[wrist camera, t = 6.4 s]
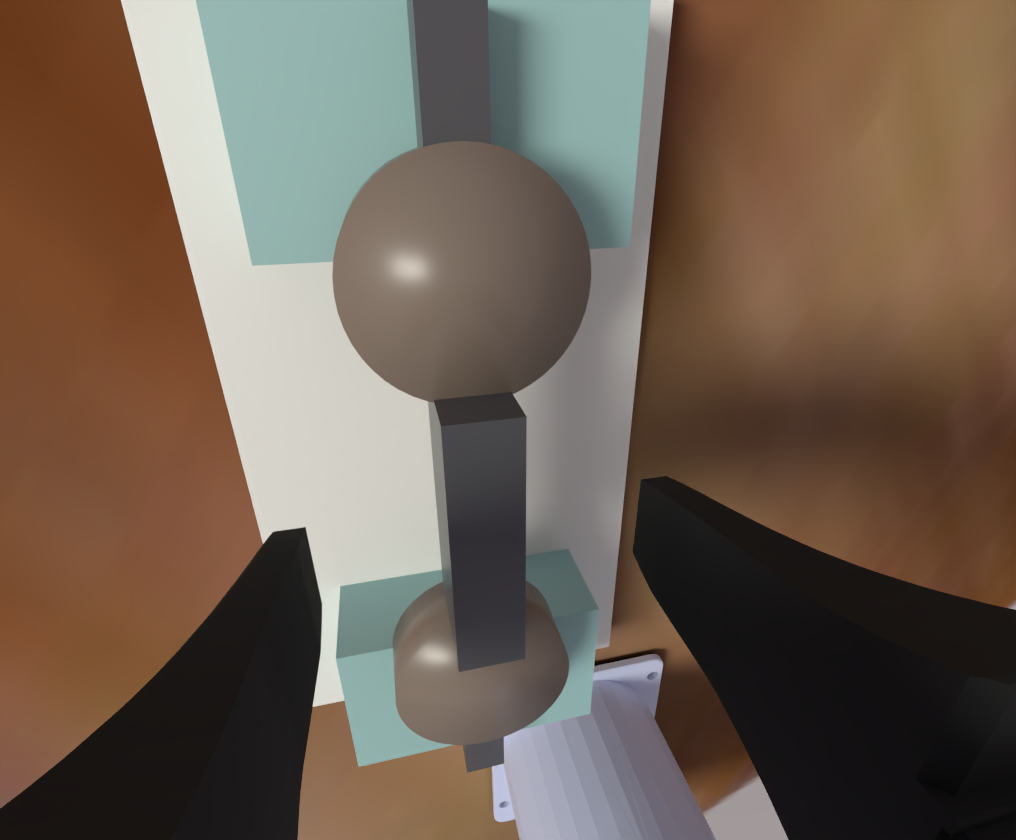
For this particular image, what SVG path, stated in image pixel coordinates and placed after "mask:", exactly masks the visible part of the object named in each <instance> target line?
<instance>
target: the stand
mask: <svg viewBox="0 0 1016 840" xmlns="http://www.w3.org/2000/svg"><path fill="white" fill-rule="evenodd" d="M121 2H122V6H123V10H124V14H125V18H126V21H127V25H128V29H129V33H130V37H131V41H132V44H133V48H134V52H135V56H136V60H137V64H138V67H139V71H140V75H141V79H142V83H143V86H144V90H145V94H146V98H147V102H148V106H149V109H150V113H151V117H152V121H153V125H154V128H155V132H156V136H157V140H158V144H159V148H160V151H161V155H162V159H163V163H164V167H165V171H166V174H167V178H168V182H169V186H170V190H171V193H172V197H173V201H174V205H175V209H176V213H177V216H178V220H179V224H180V228H181V232H182V236H183V239H184V243H185V247H186V251H187V255H188V258H189V262H190V266H191V270H192V274H193V278H194V281H195V285H196V289H197V293H198V297H199V300H200V304H201V308H202V312H203V316H204V320H205V323H206V327H207V331H208V335H209V339H210V343H211V346H212V350H213V354H214V358H215V362H216V365H217V369H218V373H219V377H220V381H221V385H222V388H223V392H224V396H225V400H226V404H227V408H228V411H229V415H230V419H231V423H232V427H233V430H234V434H235V438H236V442H237V446H238V450H239V453H240V457H241V461H242V465H243V469H244V472H245V476H246V480H247V484H248V488H249V492H250V495H251V499H252V503H253V507H254V511H255V515H256V518H257V522H258V526H259V530H260V534H261V537H262V541H263V544H264V542H265V541H266V540H267V538H268V537H269V536H270V535H271V534H272V532H275V531H282V530H289V529H296V528H303V527H306V532H307V536H308V541H309V546H310V550H311V555H312V560H313V564H314V569H315V574H316V578H317V583H318V588H319V592H320V597H321V601H322V632H321V654H320V661H319V668H318V674H317V681H316V687H315V694H314V700H313V707H315V706H320V705H325V704H330V703H334V702H339V701H344V700H345V704H346V709H347V714H348V719H349V723H350V728H351V733H352V737H353V742H354V747H355V751H356V756H357V761H358V766H359V767H360V766H365V765H369V764H373V763H378V762H382V761H386V760H391V759H395V758H400V757H404V756H408V755H413V754H417V753H421V752H426V751H430V750H434V749H439V748H443V747H448V746H452V745H450V744H442V743H437V742H434V741H431V740H427V739H425V738H423V737H421V736H419V735H417V734H416V733H414V732H413V731H411V730H410V729H409V728H408V727H407V726H406V725H405V723H404V722H403V721H402V719H401V718H400V716H399V714H398V711H397V707H396V698H395V679H394V660H393V635H394V631H395V628H396V625H397V623H398V621H399V619H400V617H401V616H402V614H403V613H404V611H405V610H406V609H407V608H408V606H409V605H410V604H411V603H412V602H413V601H414V600H415V599H416V598H417V597H419V596H420V595H421V594H422V593H424V592H425V591H427V590H428V589H430V588H431V587H433V586H435V585H437V584H438V583H441V582H443V579H442V567H441V555H440V542H439V530H438V518H437V506H436V494H435V482H434V470H433V457H432V445H431V433H430V421H429V409H428V401H425V400H422V399H419V398H416V397H413V396H411V395H409V394H407V393H405V392H403V391H400V390H398V389H397V388H395V387H394V386H392V385H391V384H389V383H388V382H386V381H385V380H383V379H382V378H381V377H380V376H379V375H378V374H376V373H375V372H374V371H373V370H372V369H371V368H370V367H369V366H368V365H367V364H366V363H365V362H364V360H363V359H362V358H361V357H360V355H359V354H358V353H357V351H356V350H355V348H354V347H353V345H352V344H351V342H350V340H349V338H348V336H347V334H346V332H345V331H344V329H343V326H342V323H341V320H340V318H339V315H338V312H337V307H336V303H335V298H334V291H333V279H332V274H333V258H334V252H335V247H336V242H337V238H338V235H339V232H340V229H341V226H342V224H343V221H344V218H345V215H346V212H347V210H348V208H349V206H350V204H351V202H352V200H353V198H354V197H355V195H356V194H357V192H358V191H359V189H360V188H361V187H362V185H363V184H364V183H365V182H366V181H367V180H368V178H369V177H370V176H371V175H372V174H373V173H374V172H375V171H377V170H378V169H379V168H380V167H382V166H383V165H384V164H385V163H387V162H388V161H390V160H392V159H393V158H395V157H397V156H398V155H400V154H402V153H405V152H407V151H410V150H412V149H415V148H417V134H416V121H415V108H414V94H413V81H412V68H411V54H410V41H409V27H408V14H407V0H121ZM673 3H674V0H488V33H489V80H490V126H491V144H492V145H496V146H500V147H503V148H506V149H508V150H511V151H513V152H516V153H518V154H520V155H522V156H523V157H525V158H527V159H529V160H531V161H532V162H534V163H535V164H536V165H538V166H539V167H540V168H542V169H543V170H544V171H546V172H547V173H548V174H549V175H550V176H551V177H552V178H553V179H554V180H555V181H556V182H557V183H558V184H559V185H560V187H561V188H562V189H563V190H564V192H565V193H566V194H567V196H568V197H569V198H570V200H571V202H572V204H573V205H574V207H575V209H576V211H577V212H578V214H579V217H580V219H581V222H582V224H583V227H584V229H585V233H586V237H587V241H588V244H589V250H590V258H591V285H590V294H589V299H588V303H587V307H586V311H585V314H584V317H583V319H582V322H581V325H580V327H579V329H578V331H577V333H576V335H575V337H574V339H573V341H572V342H571V344H570V345H569V347H568V348H567V350H566V351H565V353H564V354H563V355H562V356H561V358H560V359H559V360H558V361H557V362H556V363H555V365H554V366H553V367H552V368H550V369H549V370H548V371H547V372H546V373H545V374H544V375H543V376H542V377H540V378H539V379H538V380H536V381H535V382H534V383H532V384H531V385H529V386H527V387H526V388H524V389H522V390H520V391H519V392H517V393H514V394H513V395H514V397H515V399H516V400H517V402H518V404H519V405H520V407H521V408H522V410H523V412H524V413H525V415H526V417H527V429H526V581H528V582H530V583H531V584H532V585H534V586H535V587H536V588H537V589H538V590H539V591H540V592H541V593H542V595H543V596H544V598H545V599H546V602H547V604H548V606H549V609H550V611H551V614H552V616H553V619H554V621H555V624H556V626H557V629H558V631H559V633H560V636H561V638H562V641H563V643H564V646H565V648H566V651H567V654H568V658H569V673H568V678H567V681H566V684H565V686H564V688H563V690H562V692H561V694H560V695H559V697H558V698H557V700H556V701H555V702H554V704H553V705H552V706H551V707H550V708H549V709H548V710H547V711H546V712H545V713H544V714H543V715H541V716H540V717H539V718H538V719H537V720H535V721H534V722H532V723H531V724H529V725H528V726H526V727H524V728H522V729H526V728H531V727H535V726H539V725H544V724H548V723H552V722H557V721H561V720H565V719H570V718H574V717H579V716H583V715H587V714H590V710H591V698H592V686H593V675H594V663H595V651H596V649H599V648H604V647H608V646H609V642H610V632H611V622H612V612H613V602H614V592H615V582H616V572H617V562H618V552H619V542H620V532H621V522H622V512H623V502H624V492H625V482H626V472H627V462H628V452H629V442H630V432H631V422H632V412H633V402H634V392H635V382H636V372H637V362H638V352H639V342H640V333H641V323H642V313H643V303H644V293H645V283H646V273H647V263H648V253H649V243H650V233H651V223H652V213H653V203H654V193H655V183H656V173H657V163H658V153H659V143H660V133H661V123H662V113H663V103H664V93H665V83H666V73H667V63H668V53H669V43H670V33H671V23H672V13H673ZM522 729H521V730H522Z"/></svg>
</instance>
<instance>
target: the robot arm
mask: <svg viewBox="0 0 1016 840" xmlns="http://www.w3.org/2000/svg"><path fill="white" fill-rule="evenodd" d="M633 554H634V556H635V558H636V560H637V562H638V565H639V567H640V569H641V571H642V573H643V575H644V577H645V580H646V582H647V584H648V586H649V588H650V590H651V591H652V593H653V595H654V596H655V598H656V599H657V601H658V603H659V604H660V606H661V607H662V609H663V610H664V612H665V614H666V615H667V617H668V618H669V620H670V621H671V623H672V624H673V626H674V627H675V629H676V630H677V632H678V633H679V635H680V636H681V638H682V640H683V641H684V643H685V644H686V646H687V647H688V649H689V650H690V652H691V653H692V655H693V656H694V658H695V659H696V661H697V662H698V664H699V665H700V667H701V668H702V670H703V672H704V673H705V675H706V676H707V678H708V679H709V681H710V683H711V684H712V686H713V688H714V689H715V691H716V693H717V694H718V696H719V698H720V700H721V702H722V704H723V706H724V708H725V709H726V711H727V713H728V715H729V717H730V719H731V721H732V723H733V725H734V727H735V729H736V730H737V732H738V734H739V736H740V738H741V740H742V742H743V744H744V746H745V748H746V750H747V752H748V754H749V756H750V758H751V760H752V762H753V764H754V766H755V768H756V771H757V773H758V775H759V777H760V779H761V781H762V782H763V785H764V787H765V789H766V791H767V793H768V795H769V797H770V800H771V802H772V804H773V806H774V808H775V811H776V813H777V815H778V817H779V819H780V822H781V824H782V826H783V828H784V830H785V833H786V835H787V837H788V839H789V840H1016V610H1013V609H1009V608H1004V607H999V606H995V605H990V604H986V603H982V602H978V601H974V600H970V599H966V598H962V597H958V596H954V595H950V594H947V593H943V592H939V591H936V590H932V589H929V588H925V587H922V586H918V585H915V584H912V583H909V582H905V581H902V580H899V579H896V578H893V577H890V576H886V575H883V574H880V573H877V572H874V571H871V570H868V569H866V568H863V567H860V566H857V565H854V564H852V563H849V562H847V561H844V560H841V559H839V558H836V557H834V556H831V555H829V554H826V553H823V552H821V551H818V550H816V549H814V548H811V547H809V546H807V545H804V544H802V543H800V542H798V541H795V540H793V539H791V538H789V537H787V536H785V535H782V534H780V533H778V532H776V531H774V530H772V529H770V528H768V527H765V526H763V525H761V524H759V523H757V522H755V521H753V520H751V519H749V518H747V517H745V516H743V515H742V514H740V513H738V512H736V511H734V510H732V509H730V508H728V507H726V506H724V505H722V504H720V503H719V502H717V501H715V500H713V499H711V498H709V497H707V496H705V495H704V494H702V493H700V492H698V491H696V490H694V489H692V488H690V487H688V486H686V485H684V484H682V483H680V482H678V481H676V480H674V479H671V478H669V477H667V476H664V477H657V478H650V479H642V480H641V485H640V494H639V502H638V511H637V520H636V529H635V537H634V546H633ZM321 632H322V601H321V597H320V592H319V588H318V583H317V578H316V574H315V569H314V564H313V560H312V555H311V550H310V546H309V541H308V536H307V532H306V527H303V528H296V529H289V530H282V531H275V532H272V534H271V535H270V536H269V537H268V538H267V540H266V541H265V542H264V544H263V545H262V546H261V548H260V549H259V551H258V552H257V553H256V555H255V556H254V558H253V559H252V560H251V562H250V563H249V564H248V566H247V567H246V568H245V570H244V571H243V573H242V574H241V575H240V577H239V578H238V579H237V581H236V582H235V583H234V584H233V586H232V587H231V588H230V590H229V591H228V592H227V593H226V595H225V596H224V597H223V598H222V600H221V601H220V602H219V604H218V605H217V606H216V607H215V609H214V610H213V611H212V612H211V614H210V615H209V616H208V617H207V618H206V619H205V621H204V622H203V623H202V624H201V625H200V626H199V628H198V629H197V630H196V631H195V632H194V633H193V634H192V636H191V637H190V638H189V639H188V640H187V641H186V643H185V644H184V645H183V646H182V647H181V648H180V649H179V651H178V652H177V653H176V654H175V655H174V656H173V657H172V658H171V659H170V660H169V661H168V662H167V663H166V665H165V666H164V667H163V668H162V669H161V670H160V671H159V672H158V673H157V674H156V675H155V676H154V677H153V678H152V679H151V680H150V681H149V682H148V683H147V684H146V685H145V686H144V687H143V688H142V689H141V690H140V691H139V692H138V693H137V694H136V695H135V696H134V697H133V698H132V699H131V700H129V701H128V702H127V703H126V704H125V705H124V706H123V707H122V708H121V709H120V710H119V711H118V712H116V713H115V714H114V715H113V716H112V717H111V718H110V719H108V720H107V721H106V722H105V723H104V724H103V725H102V726H100V727H99V728H98V729H97V730H96V731H95V732H94V733H92V734H91V735H90V736H89V737H88V738H87V739H86V740H84V741H83V742H82V743H81V744H80V745H79V746H78V747H76V748H75V749H74V750H73V751H72V752H71V753H70V754H68V755H67V756H66V757H65V758H64V759H63V760H61V761H60V762H59V763H58V764H57V765H55V766H54V767H53V768H52V769H50V770H49V771H48V772H47V773H45V774H44V775H43V776H42V777H40V778H39V779H38V780H37V781H35V782H34V783H33V784H32V785H30V786H29V787H28V788H27V789H25V790H24V791H23V792H22V793H20V794H19V795H18V796H16V797H15V798H14V799H12V800H11V801H10V802H9V803H7V804H6V805H5V806H3V807H2V808H1V809H0V840H297V837H298V820H299V804H300V790H301V781H302V773H303V765H304V758H305V752H306V745H307V739H308V732H309V726H310V720H311V713H312V707H313V700H314V694H315V687H316V681H317V674H318V668H319V661H320V654H321ZM662 670H663V662H662V660H661V658H660V657H659V655H657V654H649V655H644V656H639V657H635V658H630V659H625V660H620V661H616V662H611V663H606V664H601V665H597V666H594V675H593V686H592V698H591V710H590V714H587V715H583V716H579V717H574V718H570V719H565V720H561V721H557V722H552V723H548V724H544V725H539V726H535V727H531V728H526V729H522V730H519V731H517V732H514V733H512V734H510V735H508V736H505V737H504V764H500V765H496V766H492V790H493V812H494V818H495V820H496V821H498V822H505V821H509V820H513V819H515V820H516V825H517V829H518V834H519V838H520V840H716V839H715V837H714V835H713V833H712V831H711V829H710V827H709V825H708V823H707V821H706V819H705V817H704V815H703V813H702V811H701V809H700V807H699V805H698V803H697V801H696V799H695V797H694V795H693V793H692V791H691V789H690V788H689V786H688V784H687V782H686V780H685V778H684V776H683V774H682V772H681V770H680V768H679V766H678V764H677V762H676V760H675V758H674V756H673V754H672V752H671V750H670V748H669V746H668V744H667V742H666V740H665V738H664V736H663V734H662V732H661V731H660V729H659V727H658V725H657V723H656V721H655V719H654V718H655V712H656V706H657V700H658V694H659V688H660V682H661V676H662Z"/></svg>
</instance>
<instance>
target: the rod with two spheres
mask: <svg viewBox="0 0 1016 840" xmlns="http://www.w3.org/2000/svg"><path fill="white" fill-rule="evenodd" d="M407 14H408V27H409V41H410V54H411V68H412V81H413V94H414V108H415V121H416V134H417V148H415V149H412V150H410V151H407V152H405V153H402V154H400V155H398V156H397V157H395V158H393V159H392V160H390V161H388V162H387V163H385V164H384V165H383V166H382V167H380V168H379V169H378V170H377V171H375V172H374V173H373V174H372V175H371V176H370V177H369V178H368V180H367V181H366V182H365V183H364V184H363V185H362V187H361V188H360V189H359V191H358V192H357V194H356V195H355V197H354V198H353V200H352V202H351V204H350V206H349V208H348V210H347V212H346V215H345V218H344V221H343V224H342V226H341V229H340V232H339V235H338V238H337V242H336V247H335V252H334V258H333V274H332V279H333V291H334V298H335V303H336V307H337V312H338V315H339V318H340V320H341V323H342V326H343V329H344V331H345V332H346V334H347V336H348V338H349V340H350V342H351V344H352V345H353V347H354V348H355V350H356V351H357V353H358V354H359V355H360V357H361V358H362V359H363V360H364V362H365V363H366V364H367V365H368V366H369V367H370V368H371V369H372V370H373V371H374V372H375V373H376V374H378V375H379V376H380V377H381V378H382V379H383V380H385V381H386V382H388V383H389V384H391V385H392V386H394V387H395V388H397V389H398V390H400V391H403V392H405V393H407V394H409V395H411V396H413V397H416V398H419V399H422V400H425V401H428V409H429V421H430V433H431V445H432V457H433V470H434V482H435V494H436V506H437V518H438V530H439V542H440V555H441V567H442V579H443V582H441V583H438V584H437V585H435V586H433V587H431V588H430V589H428V590H427V591H425V592H424V593H422V594H421V595H420V596H419V597H417V598H416V599H415V600H414V601H413V602H412V603H411V604H410V605H409V606H408V608H407V609H406V610H405V611H404V613H403V614H402V616H401V617H400V619H399V621H398V623H397V625H396V628H395V631H394V635H393V660H394V679H395V698H396V707H397V711H398V714H399V716H400V718H401V719H402V721H403V722H404V723H405V725H406V726H407V727H408V728H409V729H410V730H411V731H413V732H414V733H416V734H417V735H419V736H421V737H423V738H425V739H427V740H431V741H434V742H437V743H442V744H450V745H463V749H464V755H465V761H466V768H467V772H471V771H475V770H480V769H484V768H488V767H492V766H496V765H500V764H504V737H505V736H508V735H510V734H512V733H514V732H517V731H519V730H521V729H522V728H524V727H526V726H528V725H529V724H531V723H532V722H534V721H535V720H537V719H538V718H539V717H540V716H541V715H543V714H544V713H545V712H546V711H547V710H548V709H549V708H550V707H551V706H552V705H553V704H554V702H555V701H556V700H557V698H558V697H559V695H560V694H561V692H562V690H563V688H564V686H565V684H566V681H567V678H568V673H569V658H568V654H567V651H566V648H565V646H564V643H563V641H562V638H561V636H560V633H559V631H558V629H557V626H556V624H555V621H554V619H553V616H552V614H551V611H550V609H549V606H548V604H547V602H546V599H545V598H544V596H543V595H542V593H541V592H540V591H539V590H538V589H537V588H536V587H535V586H534V585H532V584H531V583H530V582H528V581H526V429H527V417H526V415H525V413H524V412H523V410H522V408H521V407H520V405H519V404H518V402H517V400H516V399H515V397H514V395H513V394H514V393H517V392H519V391H520V390H522V389H524V388H526V387H527V386H529V385H531V384H532V383H534V382H535V381H536V380H538V379H539V378H540V377H542V376H543V375H544V374H545V373H546V372H547V371H548V370H549V369H550V368H552V367H553V366H554V365H555V363H556V362H557V361H558V360H559V359H560V358H561V356H562V355H563V354H564V353H565V351H566V350H567V348H568V347H569V345H570V344H571V342H572V341H573V339H574V337H575V335H576V333H577V331H578V329H579V327H580V325H581V322H582V319H583V317H584V314H585V311H586V307H587V303H588V299H589V294H590V285H591V258H590V250H589V244H588V241H587V237H586V233H585V229H584V227H583V224H582V222H581V219H580V217H579V214H578V212H577V211H576V209H575V207H574V205H573V204H572V202H571V200H570V198H569V197H568V196H567V194H566V193H565V192H564V190H563V189H562V188H561V187H560V185H559V184H558V183H557V182H556V181H555V180H554V179H553V178H552V177H551V176H550V175H549V174H548V173H547V172H546V171H544V170H543V169H542V168H540V167H539V166H538V165H536V164H535V163H534V162H532V161H531V160H529V159H527V158H525V157H523V156H522V155H520V154H518V153H516V152H513V151H511V150H508V149H506V148H503V147H500V146H496V145H492V144H491V126H490V80H489V33H488V0H407Z"/></svg>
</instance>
